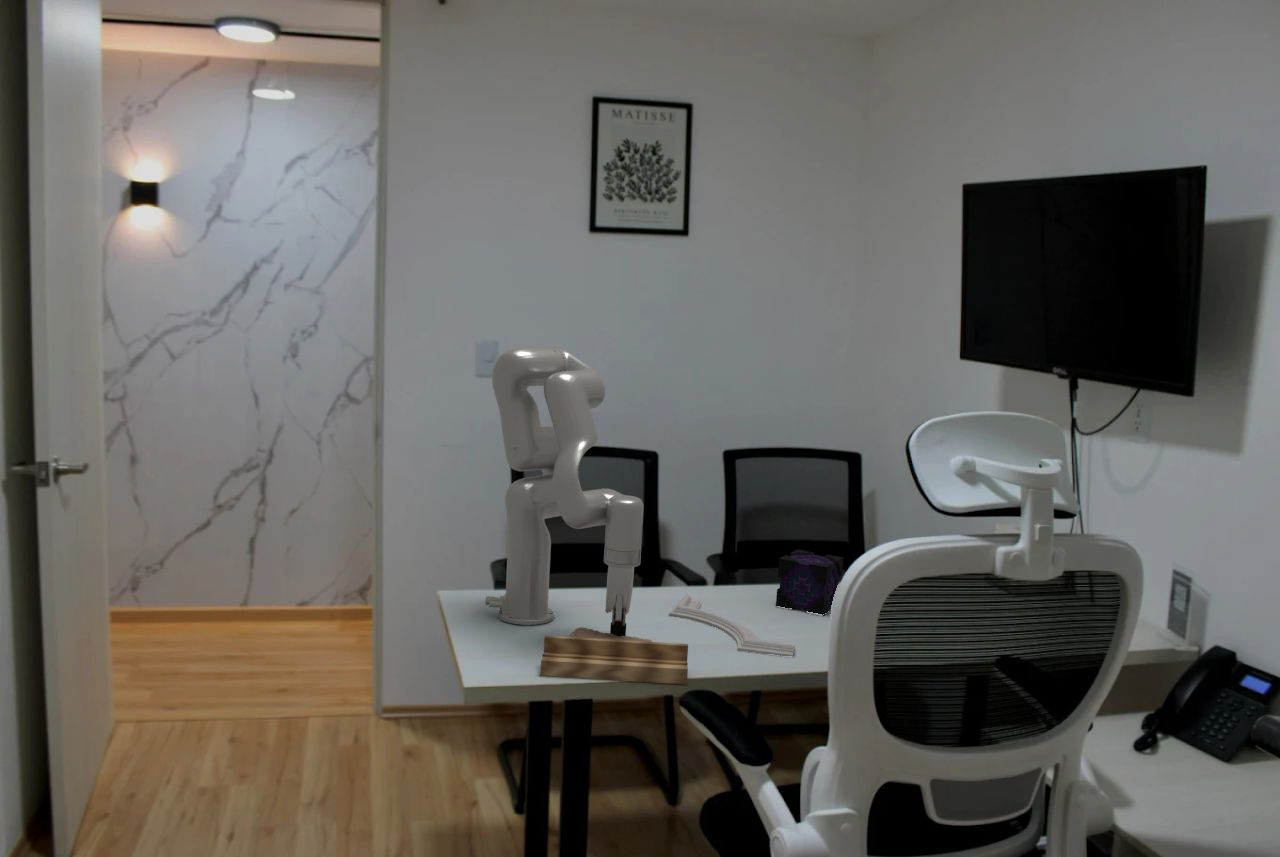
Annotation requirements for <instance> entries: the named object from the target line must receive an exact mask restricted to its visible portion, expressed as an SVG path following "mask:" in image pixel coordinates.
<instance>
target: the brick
mask: <svg viewBox="0 0 1280 857" xmlns="http://www.w3.org/2000/svg"><path fill="white" fill-rule="evenodd" d="M568 637H580V638H597V639H613V640H630V641H646V642H653V640H652V639H648V638H639V637H636V636H627V635H626V636H619V637H618V636H616V635H613V634H611V633H610V632H601V631H599V630H596V629H595V630H594V629H593V628H592V629H591V628H587V627H581V626H580V627H577V628H575V629H574V630H573V631H572V632H571V633H570V634H569V636H568Z"/></svg>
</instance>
